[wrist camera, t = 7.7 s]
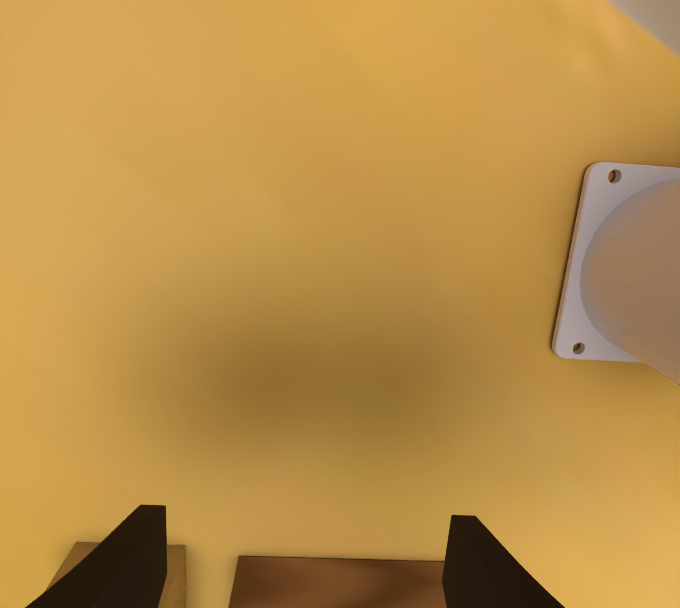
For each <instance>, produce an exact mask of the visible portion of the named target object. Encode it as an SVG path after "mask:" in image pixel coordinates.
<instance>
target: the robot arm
mask: <svg viewBox="0 0 680 608" xmlns="http://www.w3.org/2000/svg"><path fill="white" fill-rule="evenodd" d="M612 170H614V171H615V173H616V177H615V179H614V181H612V182H611V183H610V181H609V180H608V175H609V173H610V172H611V171H612ZM576 343H580V347H579V349H578V350H576V351H573V346H574V345H575V344H576ZM552 350H553V352H554V353H555V354H556V355H558V356H559V357H560V358H564V359H581V360H600V361H620V362H639V363H644V364H646V365H648V366H649V367H651V368H653V369H654V370H656V371H658V372H659V373H661V374H662V375H664V376H666V377H667V378H669V379H671V380H672V381H674V382H676V383H677V384H679V385H680V168H678V167H665V166H652V165H639V164H625V163H612V162H596V163H593V164H592V165H590V166H589V167H588V169H587V170H586V173H585V176H584V181H583V186H582V192H581V197H580V202H579V207H578V212H577V217H576V223H575V228H574V233H573V238H572V243H571V248H570V254H569V259H568V264H567V269H566V274H565V279H564V285H563V290H562V295H561V300H560V305H559V310H558V316H557V321H556V326H555V331H554V336H553V341H552ZM166 577H167V538H166V506H164V505H140V506H139V507H137V508H136V509H135V510H134V511H133V512H132V513H131V514H130V515H129V516H128V517H127V518H126V519H125V520H124V521H123V522H122V523H121V524H120V525H119V526H118V527H117V528H116V529H115V530H114V531H112V532H111V533H110V534H109V535H108V536H107V537H106V538H105V539H104V540H103V541H102V542H101V543H100V544H99V545H98V546H97V547H96V548H94V549H93V550H92V551H91V552H90V553H89V554H88V555H87V556H86V557H85V558H84V559H82V560H81V561H80V562H79V563H78V564H77V565H76V566H75V567H74V568H73V569H71V570H70V571H69V572H68V573H67V574H66V575H64V576H63V577H62V578H61V579H60V580H58V581H57V582H56V583H55V584H54V585H52V586H51V587H50V588H49V589H48V590H47V591H45V592H44V593H43V594H42V595H41V596H39V597H38V598H37V599H35V600H34V601H33V602H32V603H30V604H29V605H28V606H27V607H25V608H158V606H159V602H160V599H161V595H162V592H163V588H164V584H165V581H166ZM442 585H443V590H444V595H445V601H446V606H447V608H565V607H564V606H563V605H561V604H560V603H559V602H558V601H557V600H556V599H555V598H554V597H553V596H552V595H551V594H550V593H549V592H547V591H546V590H545V589H544V588H543V587H542V586H541V585H540V584H539V583H538V582H537V581H536V580H535V579H534V578H533V577H532V576H531V575H530V574H529V573H528V572H527V571H526V570H525V569H524V568H523V567H522V566H521V565H520V564H519V563H518V561H517V560H516V559H515V558H514V557H513V556H512V555H511V554H510V553H509V552H508V551H507V550H506V549H505V548H504V547H503V545H502V544H501V543H500V542H499V541H498V540H497V539H496V538H495V537H494V536H493V535H492V533H491V532H490V531H489V530H488V529H487V528H486V527H485V526H484V525H483V524H482V523H481V521H480V520H479V519H478V518H477V517H476V516H467V515H452V516H451V523H450V529H449V536H448V543H447V549H446V556H445V562H444V569H443V575H442Z"/></svg>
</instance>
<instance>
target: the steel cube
mask: <svg viewBox="0 0 680 608" xmlns="http://www.w3.org/2000/svg"><path fill="white" fill-rule="evenodd" d="M99 544H100V543H92V542H76V543H75V545H74V546H73V548H72V550H71V551H70V553H69V554H68V556H67V557H66V559H65V560H64V562H63V564H62V565H61V567H60V568H59V570H58V571H57V573H56V575H55V576H54V578H53V579H52V581H51V582H50V584H49V585H48V587H47V589H46V590H45V591H47V590H48V589H49V588H50V587H51V586H52V585H54V584H55V583H56V582H57V581H58V580H60V579H61V578H62V577H63V576H64V575H66V574H67V573H68V572H69V571H70V570H71V569H73V568H74V567H75V566H76V565H77V564H78V563H79V562H80V561H81V560H82V559H84V558H85V557H86V556H87V555H88V554H89V553H90V552H91V551H92V550H93V549H94V548H96V547H97V546H98V545H99ZM158 608H187V606H186V545H167V577H166V581H165V584H164V588H163V592H162V595H161V599H160V602H159V606H158Z"/></svg>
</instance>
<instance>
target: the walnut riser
mask: <svg viewBox="0 0 680 608" xmlns="http://www.w3.org/2000/svg"><path fill="white" fill-rule="evenodd" d="M443 569H444V562H431V561H394V560H358V559H321V558H285V557H248V556H239V559H238V564H237V569H236V573H235V578H234V583H233V588H232V593H231V598H230V603H229V608H447V606H446V601H445V595H444V590H443V585H442V575H443Z"/></svg>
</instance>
